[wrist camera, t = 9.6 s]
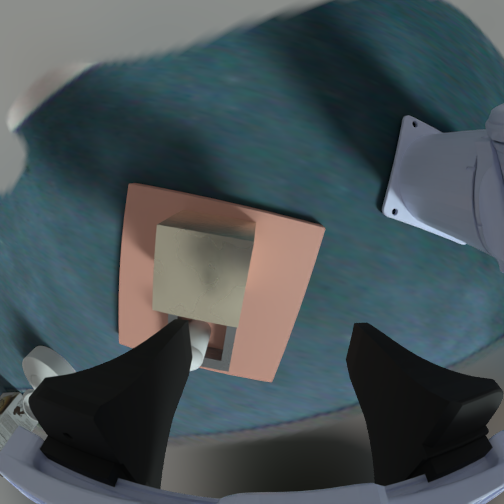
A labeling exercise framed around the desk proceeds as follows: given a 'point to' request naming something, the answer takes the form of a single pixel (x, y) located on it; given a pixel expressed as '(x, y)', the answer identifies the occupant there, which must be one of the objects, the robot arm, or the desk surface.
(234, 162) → the desk surface
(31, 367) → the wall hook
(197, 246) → the beige block with handle
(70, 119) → the desk surface
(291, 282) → the keeper board
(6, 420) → the coffee box
